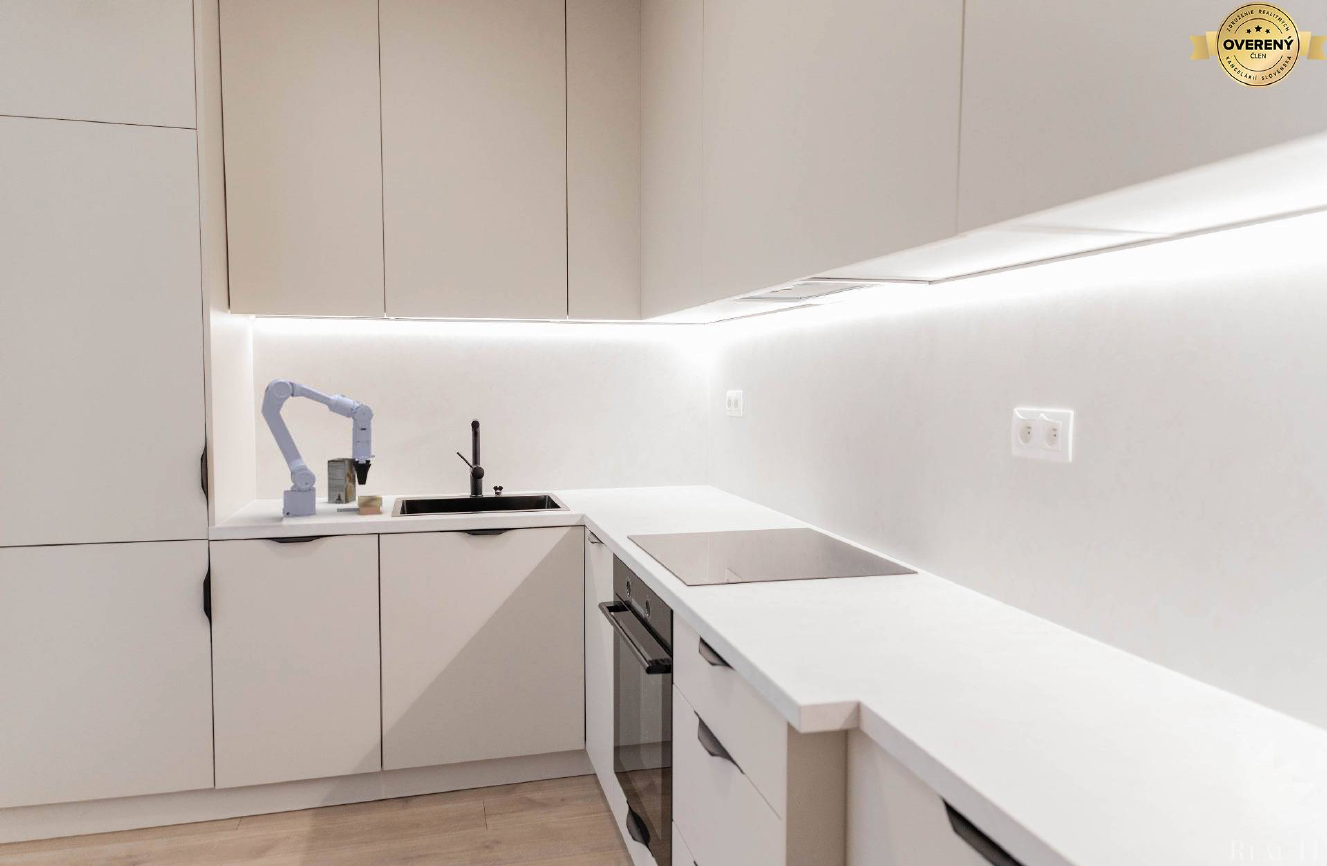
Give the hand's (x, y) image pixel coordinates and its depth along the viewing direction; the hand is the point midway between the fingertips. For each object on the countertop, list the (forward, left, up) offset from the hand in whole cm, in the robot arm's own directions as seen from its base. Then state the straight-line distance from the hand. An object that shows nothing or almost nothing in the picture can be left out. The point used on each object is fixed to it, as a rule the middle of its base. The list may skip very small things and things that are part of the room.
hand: (361, 483), depth 265 cm
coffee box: (-5, +22, -10) cm, 25 cm away
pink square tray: (+2, -6, -10) cm, 12 cm away
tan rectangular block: (+2, -6, -7) cm, 9 cm away
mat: (-3, +3, -10) cm, 11 cm away
